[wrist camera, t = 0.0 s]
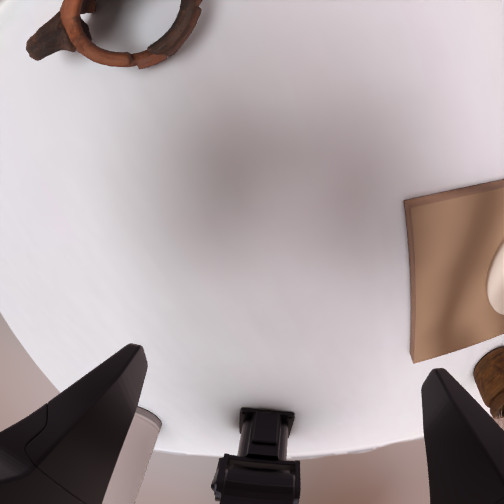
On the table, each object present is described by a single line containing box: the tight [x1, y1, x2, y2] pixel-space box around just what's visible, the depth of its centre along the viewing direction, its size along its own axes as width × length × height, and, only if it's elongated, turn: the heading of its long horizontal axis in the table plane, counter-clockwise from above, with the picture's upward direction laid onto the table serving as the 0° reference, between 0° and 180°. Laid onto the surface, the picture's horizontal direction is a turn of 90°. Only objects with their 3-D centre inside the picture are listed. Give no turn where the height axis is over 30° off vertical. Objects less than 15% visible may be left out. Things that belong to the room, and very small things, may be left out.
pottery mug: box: [26, 0, 202, 69], centre depth 14 cm, size 12×10×8 cm
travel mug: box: [102, 407, 161, 504], centre depth 30 cm, size 6×7×20 cm
